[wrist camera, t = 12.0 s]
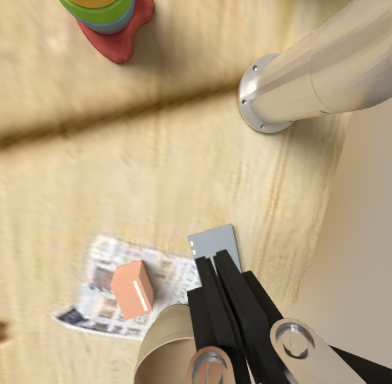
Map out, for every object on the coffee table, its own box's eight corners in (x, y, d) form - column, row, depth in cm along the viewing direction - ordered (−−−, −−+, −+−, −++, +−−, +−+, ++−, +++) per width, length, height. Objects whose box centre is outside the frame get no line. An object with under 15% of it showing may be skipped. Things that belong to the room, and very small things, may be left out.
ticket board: (229, 223, 40) (232, 226, 38) (240, 277, 44) (243, 282, 42) (187, 236, 39) (188, 240, 37) (203, 290, 43) (204, 295, 41)
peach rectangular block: (141, 259, 38) (138, 277, 34) (153, 291, 41) (152, 311, 36) (116, 267, 38) (110, 286, 33) (130, 298, 40) (125, 320, 35)
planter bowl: (219, 330, 47) (235, 384, 36) (156, 357, 46) (154, 421, 35) (199, 279, 42) (211, 324, 32) (128, 308, 41) (116, 364, 30)
